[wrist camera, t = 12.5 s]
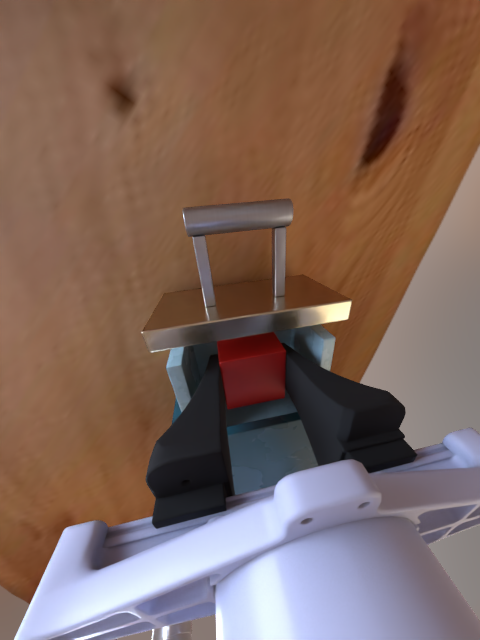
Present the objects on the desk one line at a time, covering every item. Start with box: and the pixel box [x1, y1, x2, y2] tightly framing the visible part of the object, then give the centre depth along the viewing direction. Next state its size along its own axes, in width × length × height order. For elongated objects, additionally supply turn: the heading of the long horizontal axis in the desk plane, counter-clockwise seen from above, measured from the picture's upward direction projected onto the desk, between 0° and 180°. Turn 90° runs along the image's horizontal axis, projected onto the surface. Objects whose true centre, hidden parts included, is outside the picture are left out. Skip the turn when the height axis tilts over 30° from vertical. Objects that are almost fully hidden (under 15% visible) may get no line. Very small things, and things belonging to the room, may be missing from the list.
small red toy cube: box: [217, 332, 286, 409], centre depth 13 cm, size 4×4×3 cm
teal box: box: [172, 398, 318, 495], centre depth 18 cm, size 11×12×7 cm
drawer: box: [142, 198, 352, 427], centre depth 13 cm, size 15×10×6 cm
